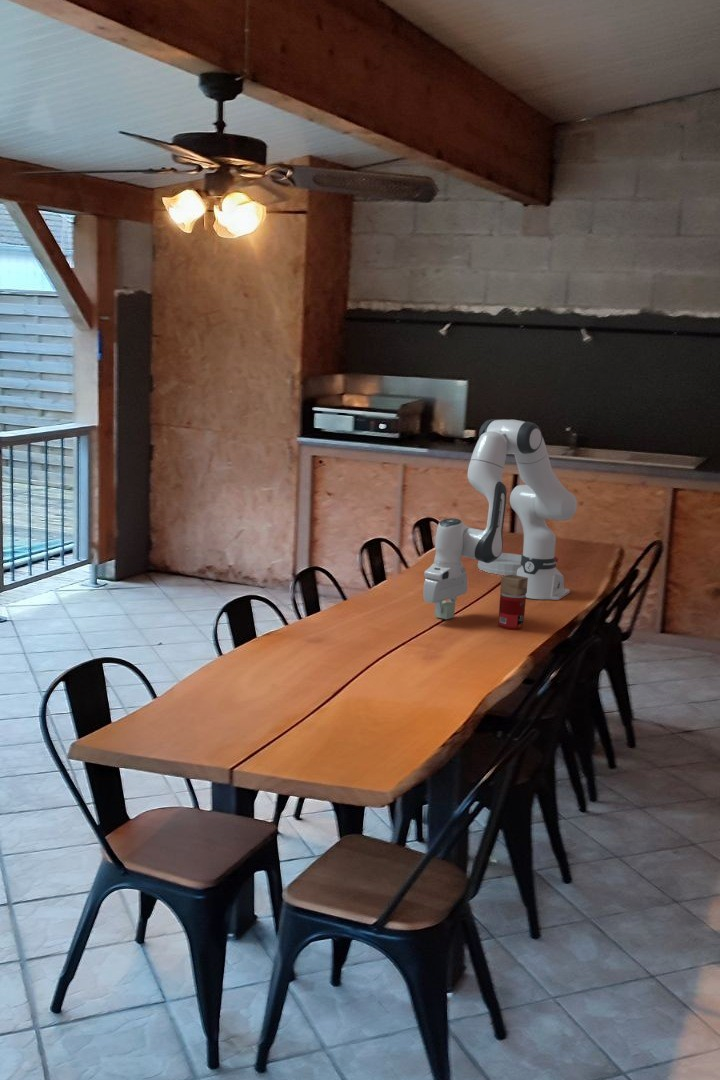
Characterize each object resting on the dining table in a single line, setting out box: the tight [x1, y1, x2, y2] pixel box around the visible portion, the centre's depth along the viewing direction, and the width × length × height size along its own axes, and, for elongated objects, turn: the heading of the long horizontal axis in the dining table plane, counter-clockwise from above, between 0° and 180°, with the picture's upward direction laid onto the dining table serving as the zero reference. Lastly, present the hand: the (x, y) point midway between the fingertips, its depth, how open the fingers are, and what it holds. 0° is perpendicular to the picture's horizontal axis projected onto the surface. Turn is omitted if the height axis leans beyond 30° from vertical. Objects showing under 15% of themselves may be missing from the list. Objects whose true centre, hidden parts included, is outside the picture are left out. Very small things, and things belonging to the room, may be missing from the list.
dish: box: [477, 552, 522, 576], centre depth 418 cm, size 22×22×5 cm
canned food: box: [497, 593, 527, 631], centre depth 335 cm, size 8×8×11 cm
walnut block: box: [499, 574, 528, 596], centre depth 333 cm, size 6×6×5 cm
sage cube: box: [434, 600, 456, 620], centre depth 341 cm, size 4×4×4 cm
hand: (444, 611), depth 341 cm, fingers closed on sage cube, 4 cm apart
